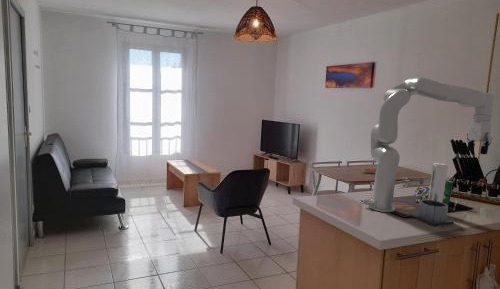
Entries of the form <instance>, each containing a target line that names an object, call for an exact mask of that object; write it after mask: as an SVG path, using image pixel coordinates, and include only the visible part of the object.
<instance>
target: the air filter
mask: <svg viewBox="0 0 500 289" xmlns="http://www.w3.org/2000/svg"><path fill="white" fill-rule="evenodd" d="M431 168H432V169H431V175H430V184H429V186H430V189H429V198H428V200H434V201H439V202H442V203H443V197H444V189H445V182H446V181H447V174H448V168H449V167H448V166H447V163H443V162H433V164H432V167H431Z"/></svg>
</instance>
